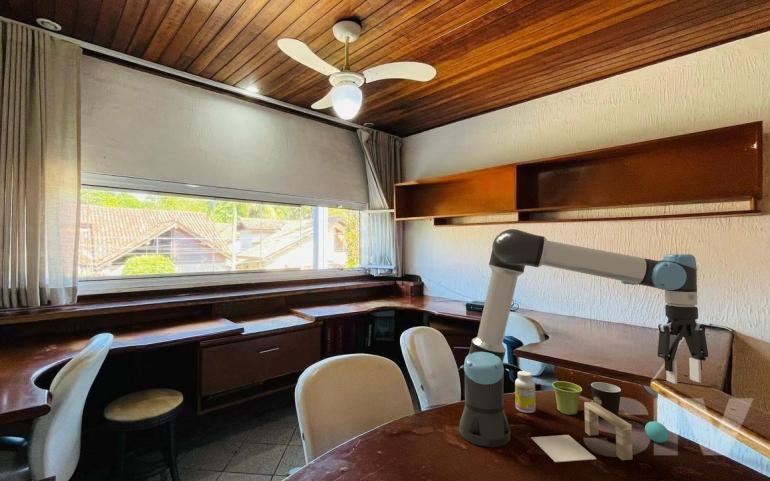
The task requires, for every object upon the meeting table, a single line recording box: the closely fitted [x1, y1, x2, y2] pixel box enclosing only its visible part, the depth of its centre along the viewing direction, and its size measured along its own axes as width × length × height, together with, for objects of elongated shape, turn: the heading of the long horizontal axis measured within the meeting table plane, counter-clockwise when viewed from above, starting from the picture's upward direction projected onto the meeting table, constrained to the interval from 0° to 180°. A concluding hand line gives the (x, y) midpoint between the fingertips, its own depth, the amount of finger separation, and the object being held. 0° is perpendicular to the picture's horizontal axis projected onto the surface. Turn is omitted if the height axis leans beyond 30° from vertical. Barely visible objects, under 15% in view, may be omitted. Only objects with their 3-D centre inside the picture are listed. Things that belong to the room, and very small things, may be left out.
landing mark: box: [530, 434, 598, 463], centre depth 98 cm, size 12×12×1 cm
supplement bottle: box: [514, 370, 536, 414], centre depth 122 cm, size 7×7×13 cm
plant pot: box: [551, 380, 583, 416], centre depth 120 cm, size 9×9×9 cm
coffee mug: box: [586, 381, 622, 422], centre depth 118 cm, size 12×9×10 cm
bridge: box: [583, 401, 634, 461], centre depth 99 cm, size 3×14×9 cm, turn 6°
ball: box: [644, 420, 670, 444], centre depth 101 cm, size 6×6×6 cm
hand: (683, 381), depth 103 cm, fingers open, 7 cm apart
